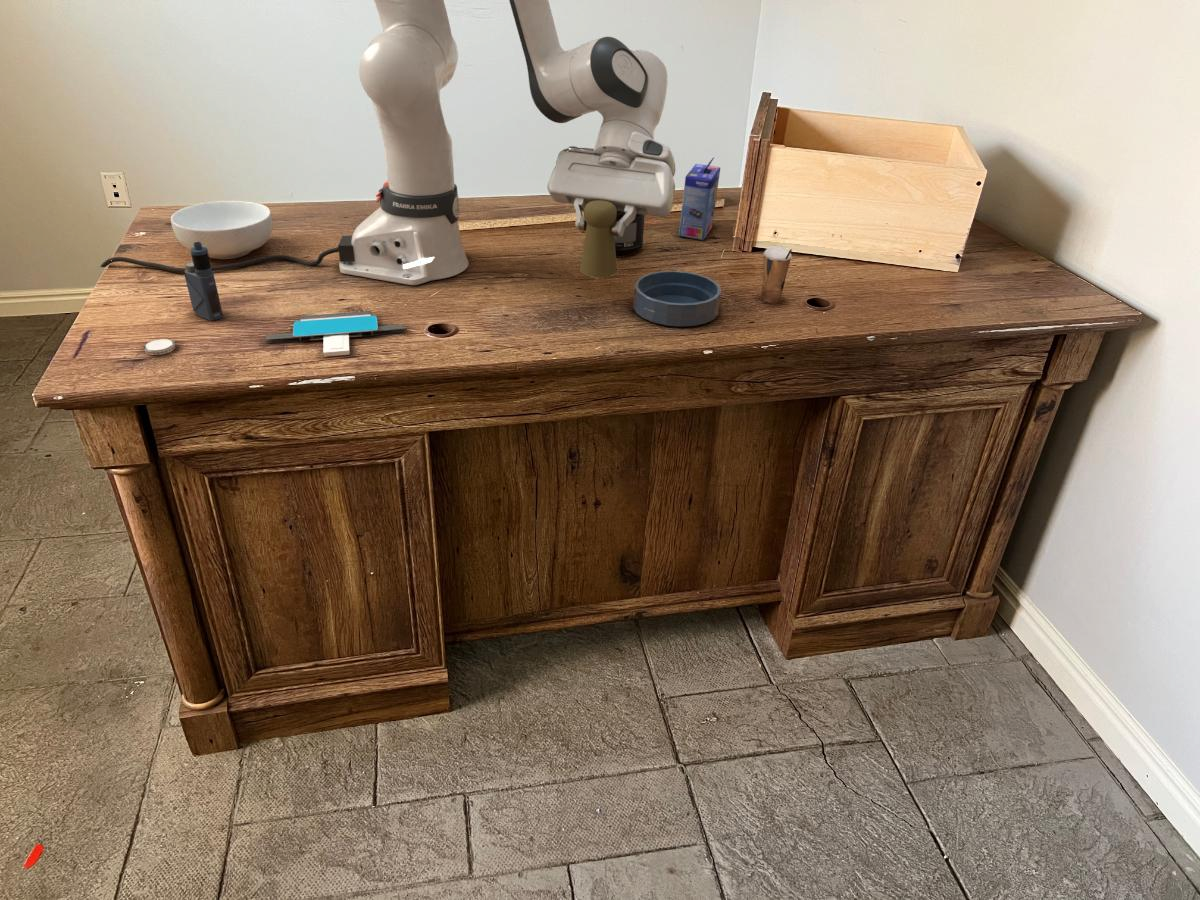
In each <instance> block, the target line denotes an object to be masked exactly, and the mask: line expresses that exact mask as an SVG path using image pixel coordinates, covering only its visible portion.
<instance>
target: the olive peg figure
mask: <svg viewBox="0 0 1200 900" xmlns="http://www.w3.org/2000/svg"><path fill="white" fill-rule="evenodd" d="M583 216H584V220H585V221H586V223H587V227H586V231H585V234H584V240H583V241H584V242H583V248H582V256H581V261H580V269H579V271H580V273H581V274H583V275H585V276H588V277H593V278H609V277H612V276H614V275H616V274H617V273H618V263H617V257H616V251H615V241H614V235H613V233H612V227H613V223H614V222H615V221H616V217H617V210H616V207H615V205H614V204H613V203H611V202H608V201H603V200H596V201H591V202H589V203H587V204H586V206H585V208H584V211H583Z"/></svg>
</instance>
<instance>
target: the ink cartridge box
mask: <svg viewBox="0 0 1200 900" xmlns="http://www.w3.org/2000/svg"><path fill="white" fill-rule="evenodd" d="M714 159H715V157H712V158H711V160H710V161H709V162H708V163H707V164H701V163H695V164H694V165H693V167H692V168H691V169H690V170H689V171H688V172H687V174H686V175H685V178H684V184H683V185H684V186H683V196H682V203H681V213H680V221H679V230H678V237H682V238H688V239H694V240H699V241H704V240H705V238H706V237H707V235H708V234H709V233H710V231H711V229H712V228H713V223H714V217H715V211H716V204H717V196H718V189H719V182H720V175H721V174H720V173H721V167H719V166H714V165H711V164H712V162H713V161H714Z"/></svg>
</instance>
